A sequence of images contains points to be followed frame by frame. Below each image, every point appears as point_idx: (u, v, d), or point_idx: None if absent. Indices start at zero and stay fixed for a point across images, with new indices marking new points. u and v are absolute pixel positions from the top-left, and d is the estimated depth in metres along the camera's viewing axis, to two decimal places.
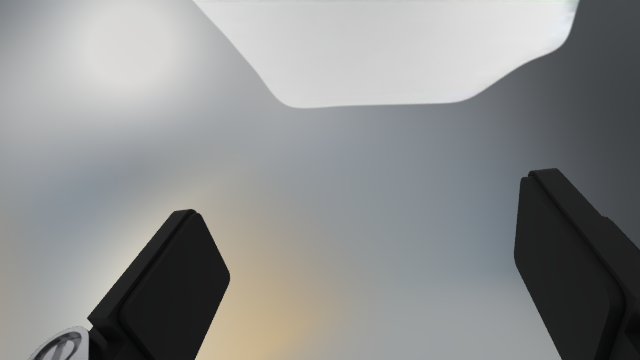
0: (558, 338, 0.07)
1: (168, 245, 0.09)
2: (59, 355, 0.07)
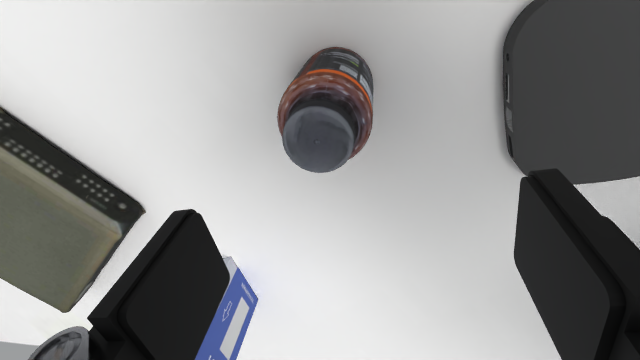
0: (558, 338, 0.07)
1: (168, 245, 0.09)
2: (59, 355, 0.07)
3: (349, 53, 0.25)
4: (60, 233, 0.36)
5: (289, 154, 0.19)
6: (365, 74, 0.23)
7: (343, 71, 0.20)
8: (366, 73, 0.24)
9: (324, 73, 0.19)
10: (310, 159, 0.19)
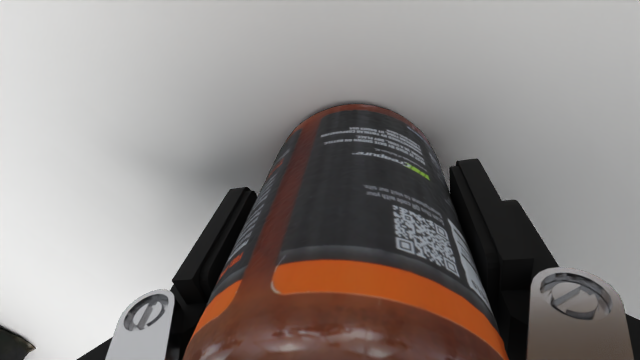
0: None
1: (232, 218, 0.09)
2: (149, 313, 0.07)
3: (394, 126, 0.10)
4: None
5: None
6: (447, 197, 0.08)
7: (415, 259, 0.05)
8: (445, 187, 0.09)
9: (345, 307, 0.04)
10: None
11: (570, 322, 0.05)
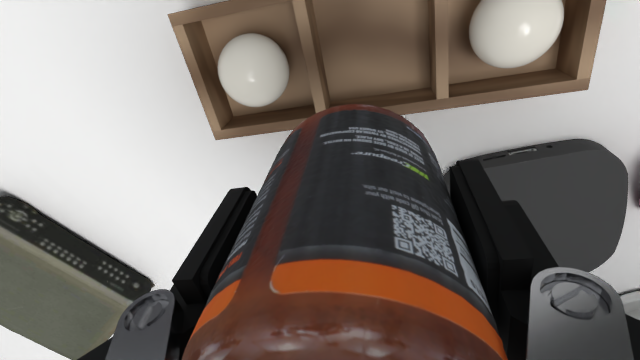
0: None
1: (232, 218, 0.09)
2: (149, 313, 0.07)
3: (393, 126, 0.10)
4: (83, 308, 0.43)
5: None
6: (447, 197, 0.08)
7: (414, 258, 0.05)
8: (444, 187, 0.09)
9: (343, 306, 0.04)
10: None
11: (569, 321, 0.05)
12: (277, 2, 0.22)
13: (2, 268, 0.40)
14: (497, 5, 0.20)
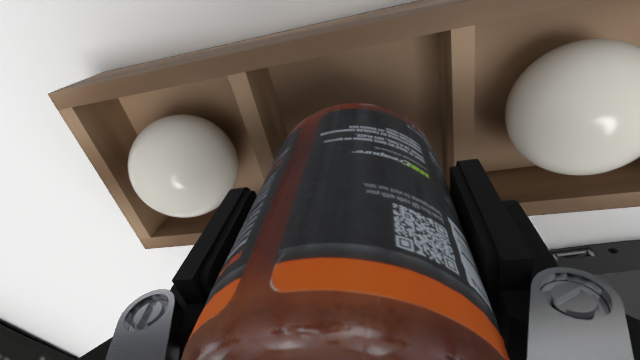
0: None
1: (232, 218, 0.09)
2: (149, 313, 0.07)
3: (393, 125, 0.10)
4: None
5: None
6: (447, 195, 0.08)
7: (415, 256, 0.05)
8: (445, 186, 0.09)
9: (345, 305, 0.04)
10: None
11: (569, 322, 0.05)
12: (205, 78, 0.14)
13: None
14: (560, 88, 0.12)
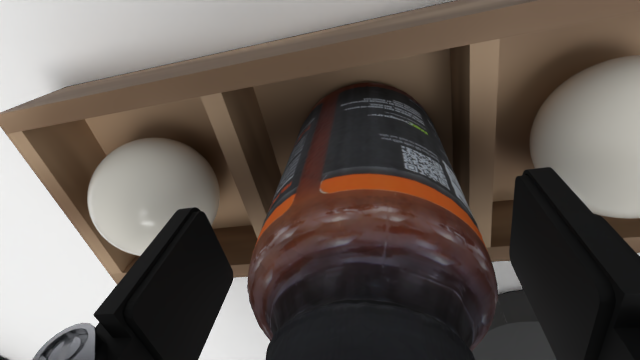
0: (551, 335, 0.07)
1: (173, 243, 0.09)
2: (66, 351, 0.07)
3: (399, 98, 0.12)
4: None
5: None
6: (442, 149, 0.11)
7: (418, 175, 0.08)
8: (440, 144, 0.11)
9: (373, 196, 0.07)
10: None
11: None
12: (174, 99, 0.12)
13: None
14: (606, 118, 0.09)
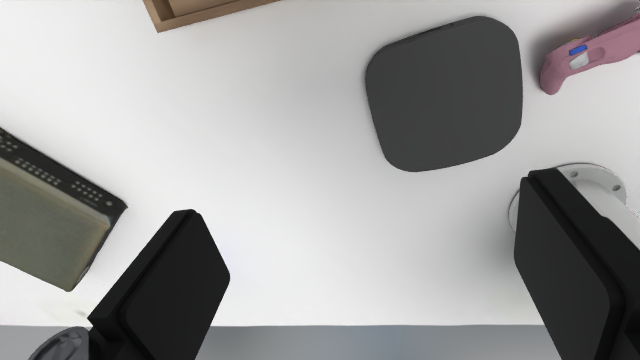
0: (558, 338, 0.07)
1: (168, 245, 0.09)
2: (59, 355, 0.07)
3: None
4: (62, 226, 0.47)
5: None
6: None
7: None
8: None
9: None
10: None
11: None
12: None
13: None
14: None
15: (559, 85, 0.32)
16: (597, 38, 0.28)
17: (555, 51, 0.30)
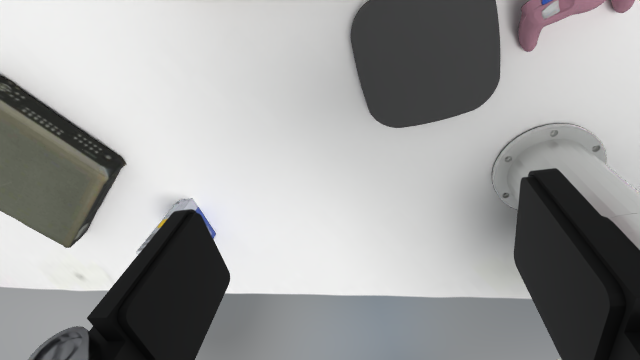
0: (558, 338, 0.07)
1: (168, 245, 0.09)
2: (59, 355, 0.07)
3: None
4: (63, 177, 0.49)
5: None
6: None
7: None
8: None
9: None
10: None
11: None
12: None
13: None
14: None
15: (535, 39, 0.34)
16: None
17: (529, 2, 0.31)
